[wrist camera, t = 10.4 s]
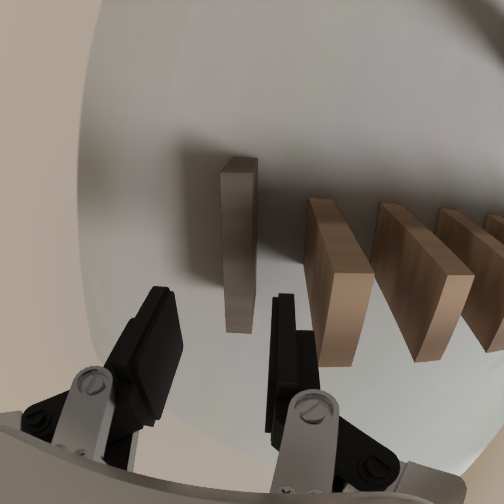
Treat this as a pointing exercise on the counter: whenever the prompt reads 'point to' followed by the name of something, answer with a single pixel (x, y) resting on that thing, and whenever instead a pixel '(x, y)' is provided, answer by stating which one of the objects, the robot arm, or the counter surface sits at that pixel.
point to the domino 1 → (239, 241)
